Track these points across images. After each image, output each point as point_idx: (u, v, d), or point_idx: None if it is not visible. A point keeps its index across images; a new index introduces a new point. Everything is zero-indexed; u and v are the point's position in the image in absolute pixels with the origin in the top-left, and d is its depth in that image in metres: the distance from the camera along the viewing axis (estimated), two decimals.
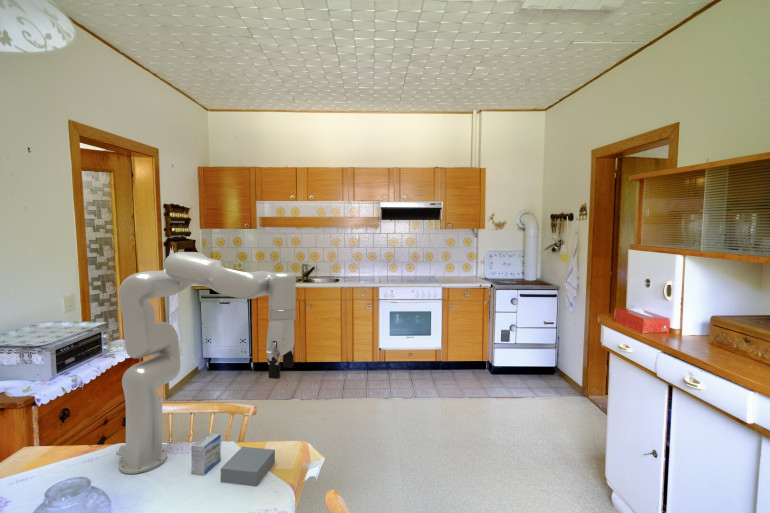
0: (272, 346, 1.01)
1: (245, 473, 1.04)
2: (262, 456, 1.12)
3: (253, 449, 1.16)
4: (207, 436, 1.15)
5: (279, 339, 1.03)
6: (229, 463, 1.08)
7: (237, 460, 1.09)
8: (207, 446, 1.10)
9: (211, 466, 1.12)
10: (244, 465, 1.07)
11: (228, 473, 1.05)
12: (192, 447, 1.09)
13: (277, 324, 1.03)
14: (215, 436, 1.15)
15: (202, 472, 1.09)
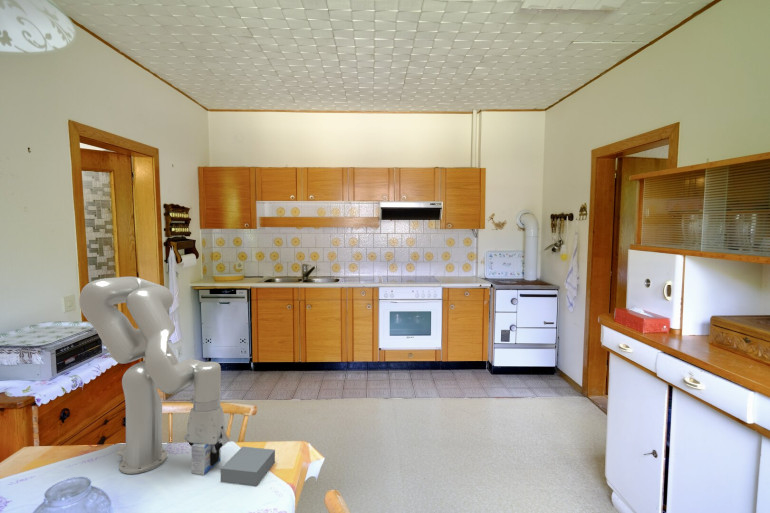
0: (224, 434, 1.12)
1: (245, 473, 1.04)
2: (262, 456, 1.12)
3: (253, 449, 1.16)
4: None
5: (224, 422, 1.13)
6: (229, 463, 1.08)
7: (237, 460, 1.09)
8: (207, 446, 1.10)
9: (211, 466, 1.12)
10: (244, 465, 1.07)
11: (228, 473, 1.05)
12: (192, 447, 1.09)
13: (221, 410, 1.13)
14: None
15: (202, 472, 1.09)
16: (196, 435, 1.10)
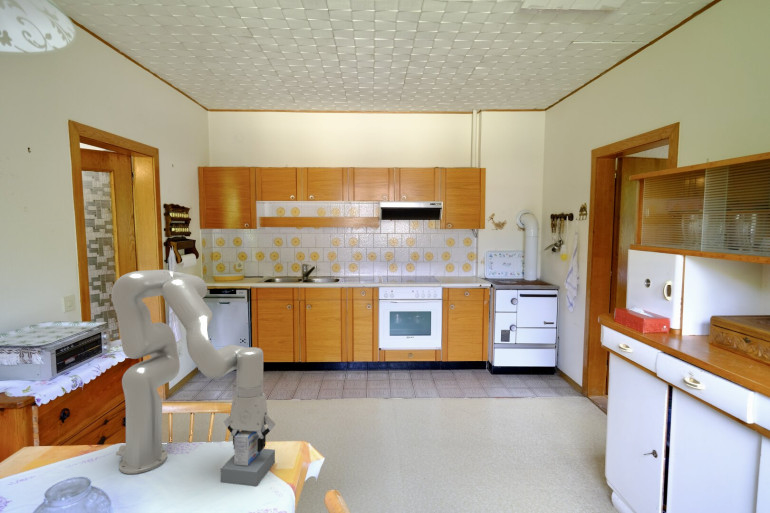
0: (269, 419, 1.10)
1: (245, 473, 1.04)
2: (262, 456, 1.12)
3: None
4: None
5: None
6: (229, 463, 1.08)
7: None
8: (250, 436, 1.08)
9: (253, 457, 1.10)
10: None
11: (228, 473, 1.05)
12: (235, 438, 1.07)
13: (264, 396, 1.10)
14: None
15: (246, 463, 1.07)
16: (240, 422, 1.08)
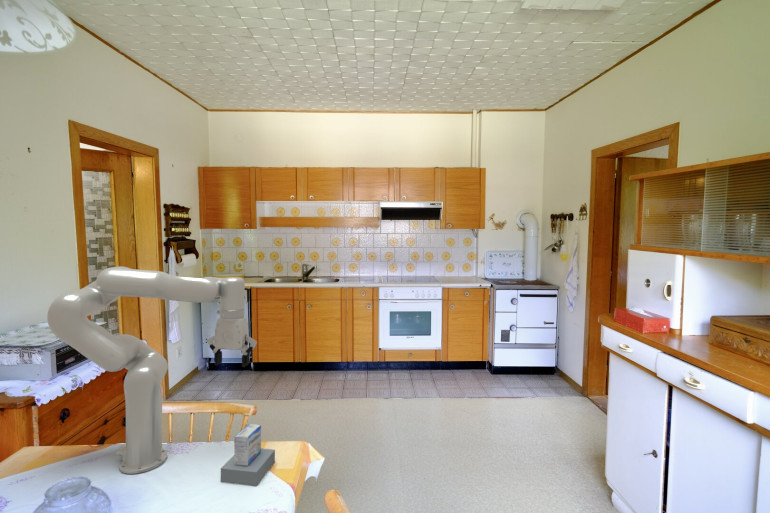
0: (250, 338, 1.22)
1: (245, 473, 1.04)
2: (262, 456, 1.12)
3: None
4: (248, 427, 1.13)
5: (247, 332, 1.24)
6: (229, 463, 1.08)
7: None
8: (250, 436, 1.08)
9: (253, 457, 1.10)
10: None
11: (228, 473, 1.05)
12: (235, 438, 1.07)
13: (245, 320, 1.23)
14: (256, 427, 1.13)
15: (246, 463, 1.07)
16: (223, 341, 1.20)
